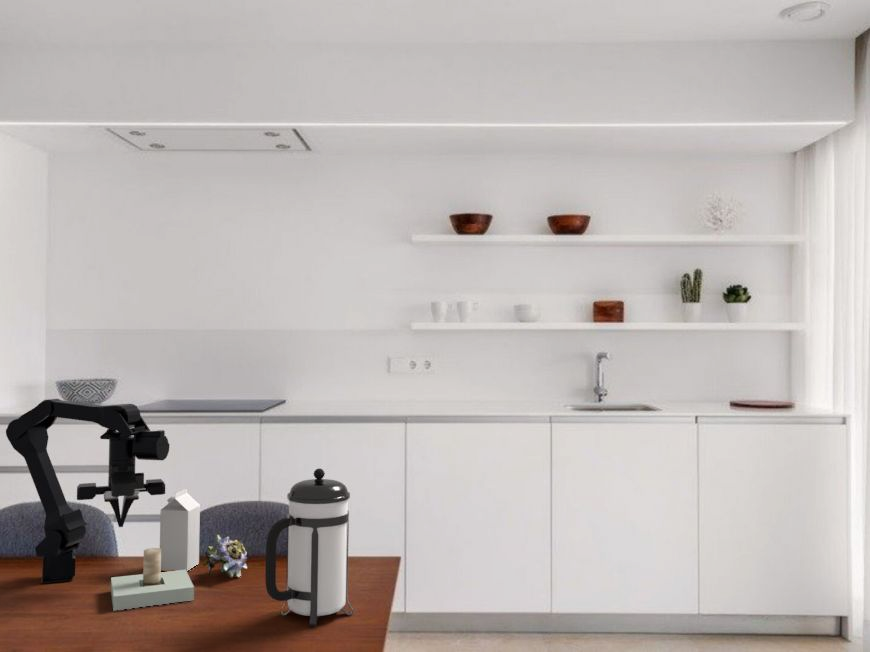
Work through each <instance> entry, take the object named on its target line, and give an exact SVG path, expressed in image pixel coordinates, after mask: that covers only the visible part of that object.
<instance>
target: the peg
mask: <svg viewBox="0 0 870 652" xmlns="http://www.w3.org/2000/svg"><path fill="white" fill-rule="evenodd" d="M142 565H143V569H142V570H143V572H142V574H143V587H144V586H153V585H160V583H161V549H160V547H150V548H146V549H144V550H143V564H142Z"/></svg>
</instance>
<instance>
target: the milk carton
mask: <svg viewBox="0 0 870 652" xmlns="http://www.w3.org/2000/svg"><path fill="white" fill-rule="evenodd" d="M166 501H167V502H168V503H167V504H166V505H164V507H162V508H161V509H160V521H159V522H160V523H159V525H160V526H159V548H160V549H161V570H175V571H177V570H186V571H188V570H190V569H191V568H193V567H194V566H196V565H198V564H199V563H200V529H201V528H200V519H201V517H200V516H201V504H200V503H199V502H198V501H196V500H195V499H194V497H192V496H191V495H190V494H189V493H188V488H184V489H183V490H180V491H178V492H175V493H174V495H172V496H170V497H169V498H168V499H167V500H166ZM199 565H200V564H199ZM199 565H198V566H199ZM196 567H197V566H196ZM193 569H194V568H193ZM190 571H191V570H190Z"/></svg>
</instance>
